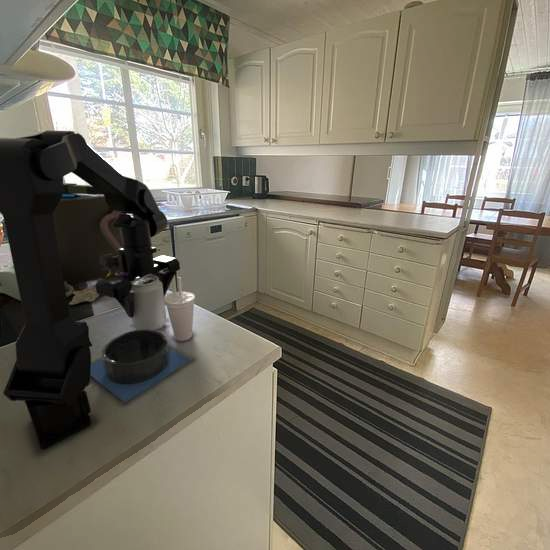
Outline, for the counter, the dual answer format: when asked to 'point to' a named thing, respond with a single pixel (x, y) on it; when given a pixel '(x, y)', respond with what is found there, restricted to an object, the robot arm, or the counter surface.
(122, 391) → the napkin
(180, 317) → the smoothie
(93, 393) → the counter surface
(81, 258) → the container
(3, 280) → the boat shoe
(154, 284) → the can
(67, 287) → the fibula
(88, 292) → the artifact
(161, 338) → the pan
